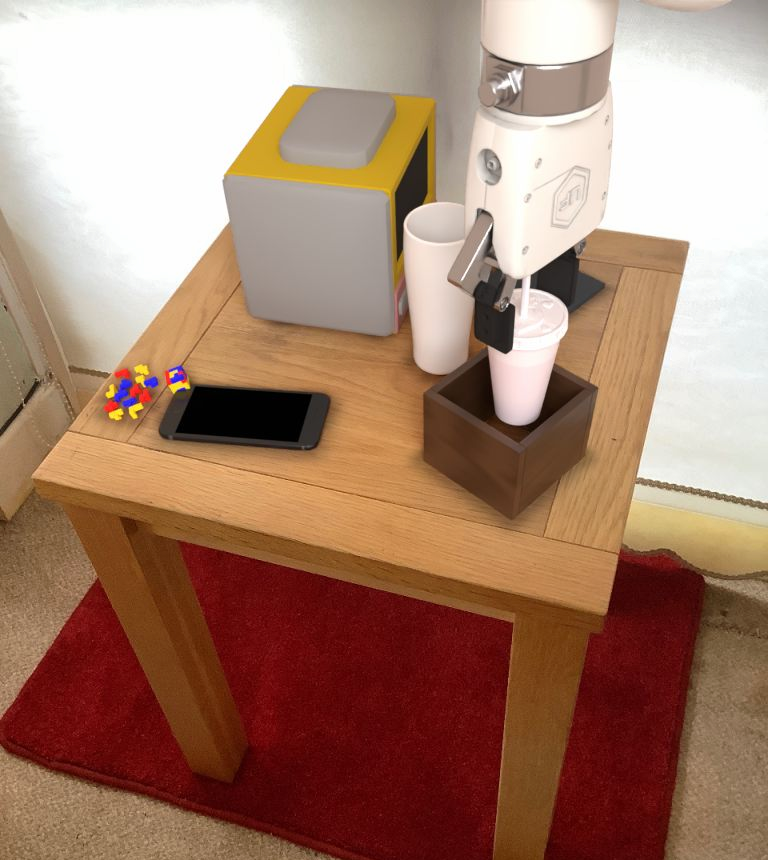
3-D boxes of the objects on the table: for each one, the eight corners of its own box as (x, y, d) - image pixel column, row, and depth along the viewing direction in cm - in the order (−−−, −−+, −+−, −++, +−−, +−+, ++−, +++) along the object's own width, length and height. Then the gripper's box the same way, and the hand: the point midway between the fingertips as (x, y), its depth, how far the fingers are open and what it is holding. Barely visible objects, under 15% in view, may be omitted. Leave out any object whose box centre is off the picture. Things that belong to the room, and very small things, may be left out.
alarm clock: (398, 357, 85) (392, 182, 71) (247, 335, 88) (213, 163, 74) (442, 245, 97) (444, 77, 83) (307, 230, 100) (288, 64, 86)
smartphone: (179, 386, 84) (177, 379, 83) (333, 397, 82) (332, 390, 81) (156, 441, 79) (153, 434, 78) (317, 455, 77) (316, 448, 76)
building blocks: (105, 422, 80) (114, 434, 81) (185, 391, 80) (193, 403, 81) (101, 377, 84) (110, 389, 85) (177, 347, 84) (185, 359, 85)
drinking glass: (399, 378, 83) (394, 240, 72) (414, 333, 88) (412, 197, 76) (468, 387, 82) (475, 249, 71) (480, 342, 86) (488, 204, 75)
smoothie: (470, 429, 70) (473, 282, 59) (487, 378, 74) (493, 231, 63) (549, 443, 68) (567, 294, 58) (563, 390, 72) (582, 241, 62)
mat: (604, 288, 91) (605, 283, 91) (545, 333, 87) (545, 328, 86) (529, 251, 96) (529, 247, 95) (469, 292, 92) (469, 288, 91)
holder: (585, 456, 76) (599, 387, 70) (512, 520, 72) (519, 453, 65) (497, 402, 81) (502, 334, 74) (423, 460, 76) (422, 392, 70)
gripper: (497, 148, 45) (487, 404, 59) (682, 37, 53) (635, 287, 66) (394, 108, 49) (407, 357, 63) (581, 9, 56) (556, 251, 70)
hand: (524, 319), depth 64 cm, fingers closed on smoothie, 6 cm apart
